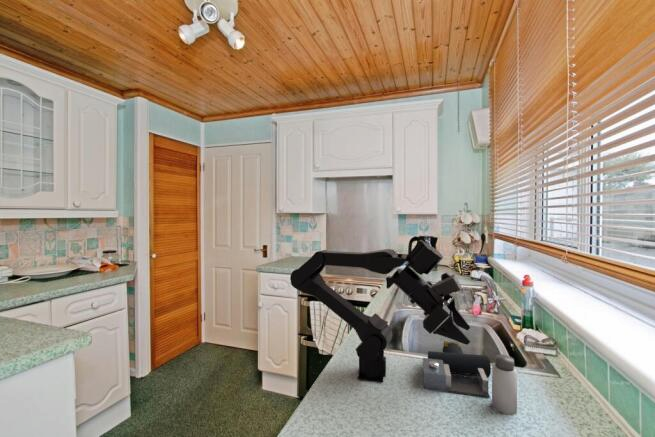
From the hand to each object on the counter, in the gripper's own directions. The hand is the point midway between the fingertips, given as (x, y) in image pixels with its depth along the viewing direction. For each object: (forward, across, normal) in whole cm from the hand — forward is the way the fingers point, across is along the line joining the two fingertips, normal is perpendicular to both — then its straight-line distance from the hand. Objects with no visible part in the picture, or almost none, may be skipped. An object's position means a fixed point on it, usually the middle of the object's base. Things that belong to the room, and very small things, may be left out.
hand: (468, 335), depth 72 cm
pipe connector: (+7, +15, +14) cm, 22 cm away
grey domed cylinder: (+15, -1, +7) cm, 16 cm away
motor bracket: (+7, +5, +13) cm, 16 cm away
